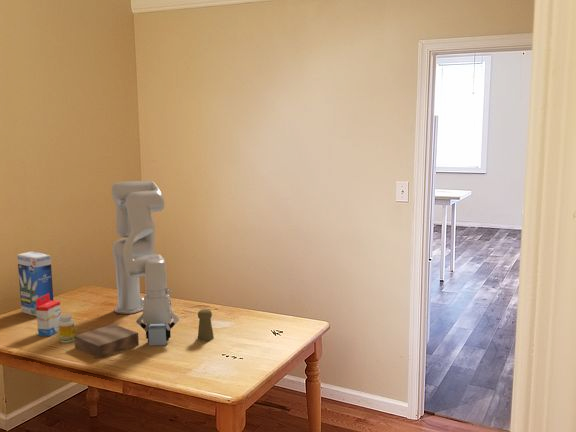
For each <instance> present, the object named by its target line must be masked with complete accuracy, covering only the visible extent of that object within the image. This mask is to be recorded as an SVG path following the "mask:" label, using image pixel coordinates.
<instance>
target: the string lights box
mask: <svg viewBox="0 0 576 432" xmlns="http://www.w3.org/2000/svg"><path fill="white" fill-rule="evenodd" d="M51 256H52V255H50V254H45V253H42V252H35V251H28V252H23V253H19V254H16V257H17V267H18V269H17V271H18V282H19V293H20V309H21V313H23V314H27V315H31V316H35V317H37V311H36V299H38V298H40V297H42V296H44V295H46V294H48V293H49V300H52V301H54V289H53V275H52V259H51ZM43 300H45V298H43V299H42V300H41V301H43Z"/></svg>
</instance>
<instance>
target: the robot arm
mask: <svg viewBox="0 0 576 432" xmlns="http://www.w3.org/2000/svg"><path fill="white" fill-rule="evenodd" d="M110 192H111V193H110V194H111V196H112V199H113V202H114V205H115V229H116V234H117V236H119V237H120V239H117V240H115V241H114V242H112V243H113V244H112V248H111V249H112V254H113V258H114V266H115V278H116V279H115V280H116V296H117V305H116V306H115V307H114V312H115V313H117V314H121V315H126V314H127V315H129V314H137V313H139V312H142V314H141V315H140V316H139V317H138V318H137V319H136V320H135V322H136V324H137V325H139V326H140V327H141V328H142V329H143V330H144V331H145V339H147V343H149V332H148V330H149V327H150V325H151V324H165V326H166V328H167V329H166V341H167V342H169V339H170V338H171V337H172V336H171V329H173V327H174V326H175V325H176V324H177V323H178V322H179V321H180V318H179V317H178V316H177V315H176V314H175V313H174V312H173V310H172V309H173V308H172V301H171V300H172V299H171V297H170V294H171V293H172V289H168V286H167V282H168V281H167V265H166V261H165V258H164V257H163V256H162V254H159V253H158V254H157V253H155V238H156V237H155V236H156V234H155V233H156V228H155V227H156V225H155V220H154V218H153V216H152V213H156V212H162V211H163V210H164V208H165V198H164V195H163V193H162V191H161V190H160V188H159V186H158V185H157V184H156V183H155V182H154V181H153V180H136V181H134V180H133V181H129V180H128V181H120V182H119V181H118V182H114V183H113V184H112V185H111V191H110ZM140 277H144V280H145V281H144V283H145V295H144V296H142V297H141V290H140V286H141V285H140ZM172 319H173V320H172ZM171 321H172V322H171Z"/></svg>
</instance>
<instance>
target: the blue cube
mask: <svg viewBox="0 0 576 432" xmlns="http://www.w3.org/2000/svg"><path fill="white" fill-rule="evenodd" d="M166 329H167V328H166V326H165V324H150V327H149V330H148V332H149V342H148V346H166V345H167V343H168V341H166Z"/></svg>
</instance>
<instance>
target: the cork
mask: <svg viewBox="0 0 576 432" xmlns="http://www.w3.org/2000/svg"><path fill="white" fill-rule="evenodd" d="M212 313H213V312H212V311H211V310H210V309H207V308H204V309H200V310H198V312H197V317H198V319H199V322H198V329H197V330H198V332H197V340H198V341H200V342H208V341H212V340H214V339H215V336H214V331H213V324H212V319H211V318H212V317H213V314H212Z"/></svg>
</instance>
